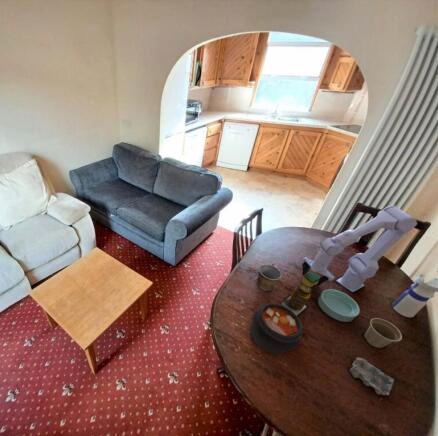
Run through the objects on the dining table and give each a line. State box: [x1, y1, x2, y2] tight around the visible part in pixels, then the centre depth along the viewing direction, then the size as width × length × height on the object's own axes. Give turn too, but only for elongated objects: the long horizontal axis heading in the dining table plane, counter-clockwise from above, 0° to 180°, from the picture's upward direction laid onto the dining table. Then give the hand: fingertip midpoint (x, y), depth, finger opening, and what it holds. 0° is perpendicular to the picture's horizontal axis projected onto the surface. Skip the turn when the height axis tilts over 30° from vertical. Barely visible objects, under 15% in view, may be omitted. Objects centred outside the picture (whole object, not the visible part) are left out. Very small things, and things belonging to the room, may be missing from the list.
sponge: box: [300, 271, 322, 288], centre depth 119 cm, size 7×4×4 cm, turn 114°
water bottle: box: [391, 270, 438, 318], centre depth 100 cm, size 8×9×25 cm
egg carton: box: [349, 357, 395, 396], centre depth 84 cm, size 11×8×4 cm
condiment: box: [281, 283, 312, 316], centre depth 106 cm, size 7×8×12 cm
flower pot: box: [363, 317, 403, 349], centre depth 93 cm, size 9×9×9 cm
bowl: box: [317, 288, 361, 323], centre depth 107 cm, size 14×14×4 cm
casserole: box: [249, 302, 304, 356], centre depth 97 cm, size 25×19×8 cm
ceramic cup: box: [256, 263, 283, 291], centre depth 117 cm, size 13×10×10 cm
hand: (310, 279), depth 119 cm, fingers open, 7 cm apart
